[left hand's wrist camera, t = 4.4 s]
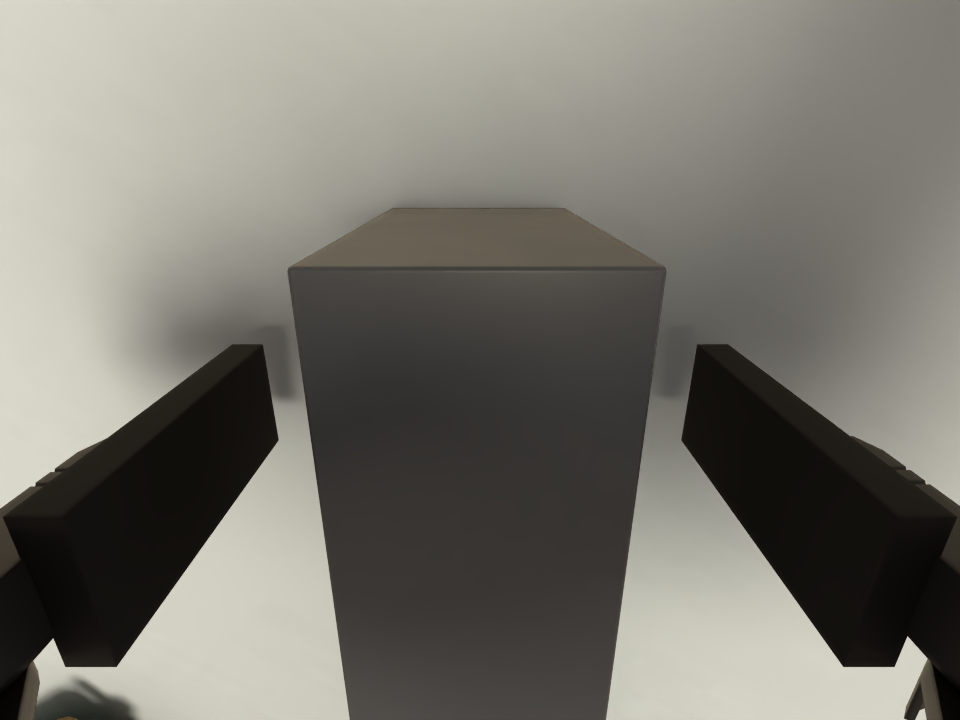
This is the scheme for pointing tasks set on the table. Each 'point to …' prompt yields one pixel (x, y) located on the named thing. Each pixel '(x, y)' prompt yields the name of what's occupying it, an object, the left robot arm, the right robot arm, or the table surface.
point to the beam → (477, 454)
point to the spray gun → (67, 718)
